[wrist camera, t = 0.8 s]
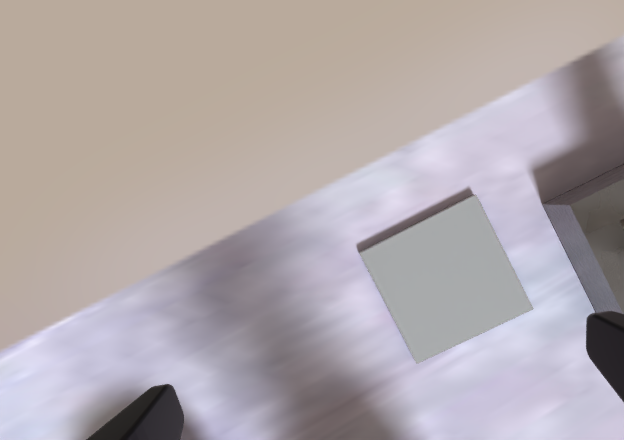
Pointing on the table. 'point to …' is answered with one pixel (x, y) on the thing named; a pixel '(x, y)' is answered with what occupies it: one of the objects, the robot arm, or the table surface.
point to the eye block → (594, 236)
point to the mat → (446, 279)
